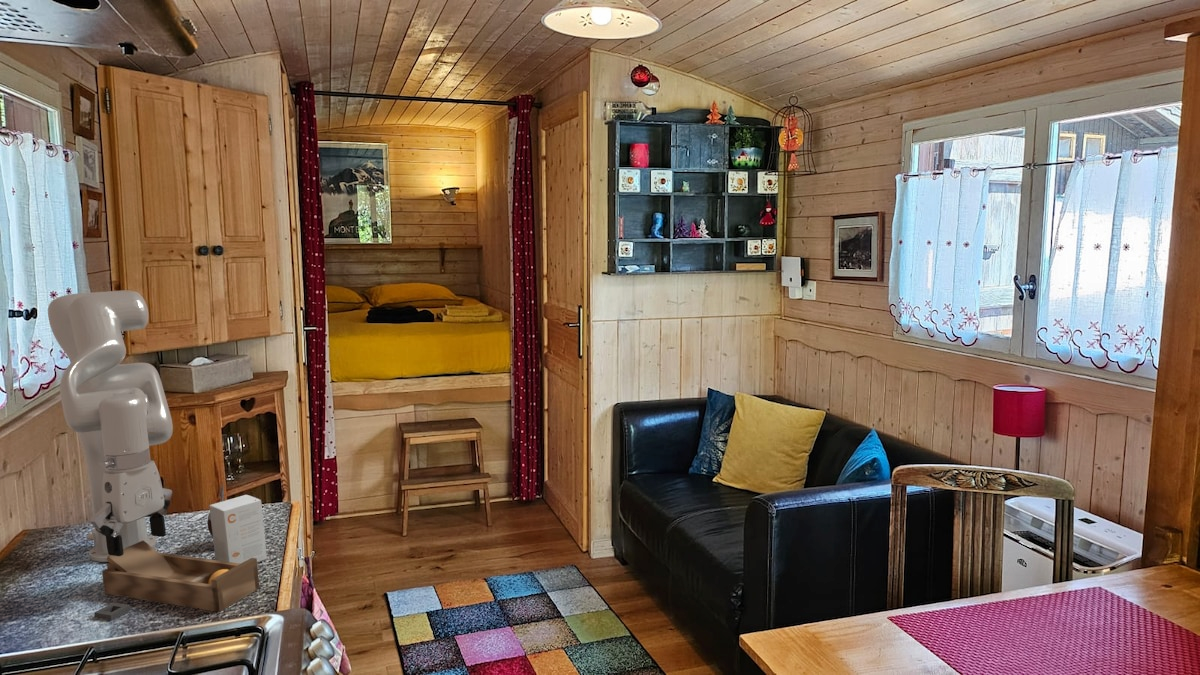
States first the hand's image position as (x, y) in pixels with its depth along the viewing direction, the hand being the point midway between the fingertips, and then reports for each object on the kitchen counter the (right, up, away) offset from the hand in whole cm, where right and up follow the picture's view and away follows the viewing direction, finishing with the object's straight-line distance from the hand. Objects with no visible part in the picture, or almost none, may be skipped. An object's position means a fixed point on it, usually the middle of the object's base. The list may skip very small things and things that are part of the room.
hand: (137, 545), depth 159 cm
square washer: (+2, -10, -11) cm, 15 cm away
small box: (+15, -6, +11) cm, 20 cm away
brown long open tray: (+10, -8, -2) cm, 13 cm away
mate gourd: (+8, -5, +20) cm, 23 cm away
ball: (+19, -6, -6) cm, 21 cm away
